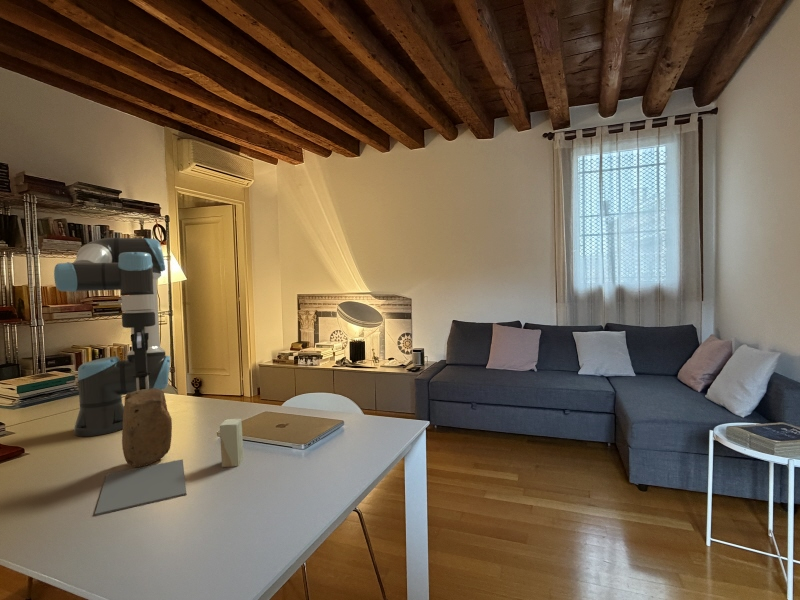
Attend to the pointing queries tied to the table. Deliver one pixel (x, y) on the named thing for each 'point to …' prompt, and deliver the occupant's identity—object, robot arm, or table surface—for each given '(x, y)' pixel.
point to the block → (146, 427)
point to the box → (231, 442)
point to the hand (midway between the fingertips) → (143, 400)
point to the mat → (142, 486)
